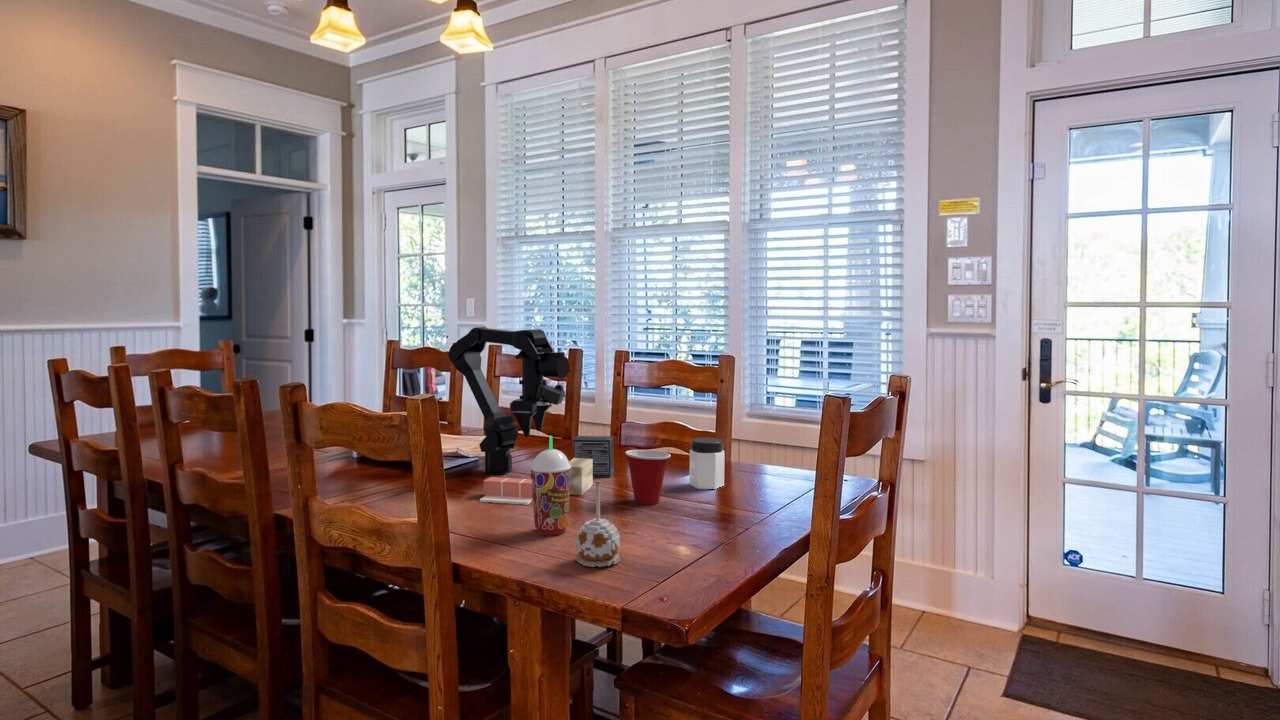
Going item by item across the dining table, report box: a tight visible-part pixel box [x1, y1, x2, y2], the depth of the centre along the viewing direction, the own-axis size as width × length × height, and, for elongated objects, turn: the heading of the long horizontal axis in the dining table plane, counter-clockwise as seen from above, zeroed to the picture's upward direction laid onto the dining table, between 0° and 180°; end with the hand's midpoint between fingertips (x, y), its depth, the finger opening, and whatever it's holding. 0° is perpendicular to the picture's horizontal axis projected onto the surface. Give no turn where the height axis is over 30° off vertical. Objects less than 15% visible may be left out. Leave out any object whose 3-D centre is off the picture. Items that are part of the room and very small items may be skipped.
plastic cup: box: [625, 449, 671, 506], centre depth 173 cm, size 11×11×12 cm
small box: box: [572, 435, 614, 478], centre depth 201 cm, size 11×6×10 cm, turn 84°
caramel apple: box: [574, 480, 621, 568], centre depth 132 cm, size 8×8×15 cm
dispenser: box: [568, 458, 594, 496], centre depth 185 cm, size 11×10×7 cm
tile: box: [479, 495, 533, 506], centre depth 177 cm, size 12×12×1 cm
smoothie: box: [529, 435, 571, 537], centre depth 150 cm, size 8×8×20 cm
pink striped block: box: [483, 476, 533, 498], centre depth 177 cm, size 14×4×4 cm, turn 78°
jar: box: [688, 437, 726, 490], centre depth 188 cm, size 9×8×12 cm
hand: (533, 433), depth 196 cm, fingers open, 9 cm apart
